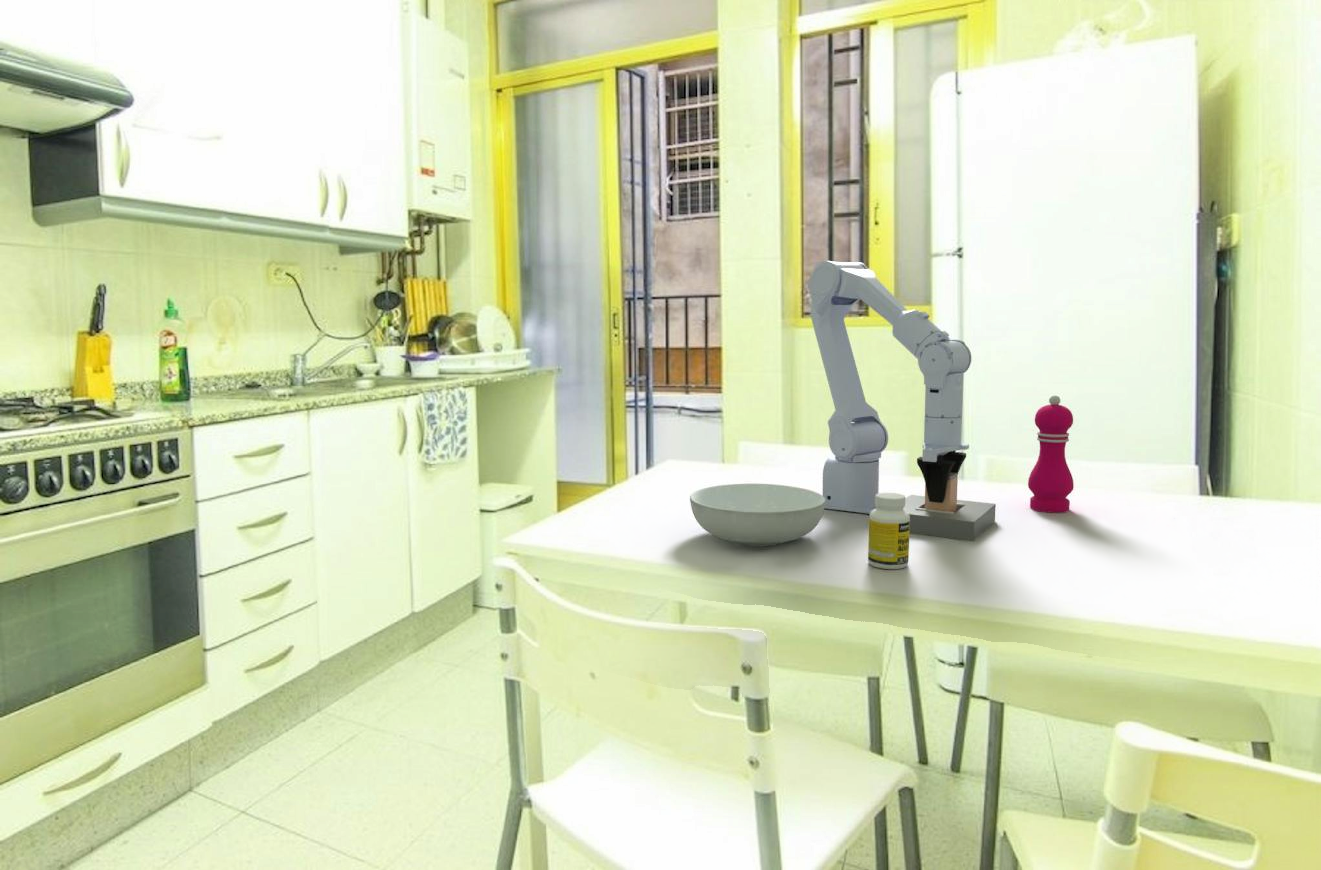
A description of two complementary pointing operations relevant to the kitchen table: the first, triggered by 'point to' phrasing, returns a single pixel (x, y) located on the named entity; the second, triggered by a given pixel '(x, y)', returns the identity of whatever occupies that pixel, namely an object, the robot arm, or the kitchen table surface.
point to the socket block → (950, 519)
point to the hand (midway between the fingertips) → (940, 498)
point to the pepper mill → (1051, 460)
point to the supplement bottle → (889, 532)
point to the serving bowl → (757, 512)
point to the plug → (950, 496)
